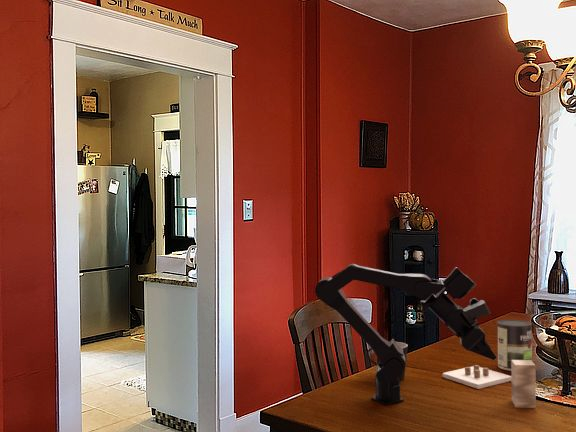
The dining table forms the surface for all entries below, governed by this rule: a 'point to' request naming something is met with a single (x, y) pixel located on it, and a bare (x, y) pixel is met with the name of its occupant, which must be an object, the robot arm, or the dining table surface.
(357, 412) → the dining table surface
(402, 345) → the coffee mug
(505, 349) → the coffee can
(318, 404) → the dining table surface
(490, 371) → the peg stand
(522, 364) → the birch block
